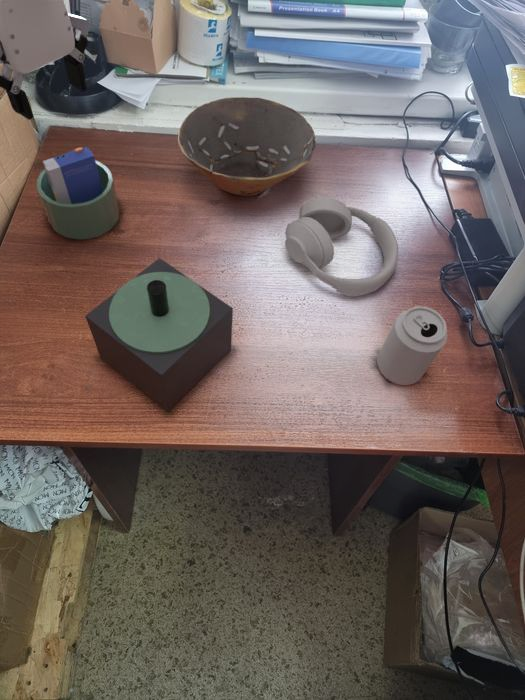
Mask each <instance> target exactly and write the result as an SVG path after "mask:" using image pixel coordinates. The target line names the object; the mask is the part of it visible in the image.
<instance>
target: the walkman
mask: <svg viewBox="0 0 525 700" xmlns="http://www.w3.org/2000/svg"><path fill="white" fill-rule="evenodd" d="M95 158H96V157H95V155H94V154H93V152H92V151H91V150H90V149H89V147H87V146H85V147H82V146H81V147H77V148H75V149H74V150H72V151H69V152H66V153H62V154H60V155H57V156H54V157H51V158H48V159H46V160H42V163H43V166H44V169H46V170H45V173H46V176H47V178H48V181H49V184H50V185H51V187H52V190H53V193H54V196H55V199H56V202H59V203H64V204H78V203H85V202H87V201H90V200H93V199H95V198H96V197H98V196H99V195H101V194H102V193H103V192H102V188H101V183H100V179H99V175H98V171H97V167H96V162H95V161H96V159H95Z"/></svg>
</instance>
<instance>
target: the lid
mask: <svg viewBox="0 0 525 700" xmlns="http://www.w3.org/2000/svg"><path fill="white" fill-rule="evenodd" d="M185 276H186V275H185ZM185 276H182V275H179V274H175V273H170V272H154V273H148V274H144V275H141V276H138V277H136V278H134V277H133V278H134V279H133V278H132V280H131V279H130V280H129V281H127V282H126V283H124V284H123V285H122V286H121V287H120V288H118V289H117V290H118V291H117V290H116V291H117V293H116V294H115V296H114V297H113V299H112V301H111V304H110V308H109V320H110V324H111V327H112V329H113V331H114V333H115V335H116V336H117V337H118V338H119V339H120V340H121V341H122V342H123V343H124V344H126V345H127V346H129V347H131V348H133V349H135V350H138V351H141V352H145V353H153V354H162V353H169V352H174V351H177V350H180V349H182V348H184V347H186V346H188V345H190V344H191V343H193V342H194V341H195V340H196V339H198V338H199V336H200V335H201V334H202V333H203V331H204V330H205V328H206V326H207V324H208V321H209V317H210V305H209V301H208V298H207V296H206V294H205V292H204V291H203V290H202V288H201V287H202V286H201V285H200V286H201V287H200V286H199V284H198V283H197V282H195V281H194V280H193V279H191V278H190V277H188V276H187V277H188V278H187V277H185ZM189 278H190V279H189ZM196 283H197V284H196Z"/></svg>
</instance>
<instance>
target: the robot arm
mask: <svg viewBox="0 0 525 700" xmlns="http://www.w3.org/2000/svg"><path fill="white" fill-rule="evenodd" d="M73 28H75V30H74V29H73ZM89 29H90V21H89V20H88V19H86V18H84V17H82V16H79V15H76V14H72V13H69V10H68V7H67V5H66V2H65V0H0V64H2V66H1V70H0V88H2V89H4V90H5V92H6V94H7V97H8V100H9V103H10V106H11V108H12V110H13V111H14V112H15V113H16V114H18V115H21V116H22V117H23V118H25V119H27V120H28V121H29V120H32V119H34V115H33V111H32V108H31V105H30V102H29V100H28V96H27V93H26V92H25V90H23V89H21V88H22V84H23V81H24V77H25V75H27V74H29V73H32V72H34V71H36V70H39V69H40V68H43V67H45V66H47V65H49V64H52V63H54V62H56V61H58V60H61V59H62V58H63V64H64V67H65V71H66V75H67V79H68V83H69V85H71V86H72V87H74V88H76V89H77V90H79V91H80V92H86V91H87V90H88V87H87V83H86V76H85V75H86V74H85V71H84V66H83V62H84V61H85V52H86V48H87V46H88V43H89V40H88V37H89ZM74 31H75V33H74Z"/></svg>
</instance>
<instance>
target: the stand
mask: <svg viewBox="0 0 525 700" xmlns="http://www.w3.org/2000/svg"><path fill="white" fill-rule="evenodd" d="M154 272H170V273H175V274H179V275H182V276H185V277H187V278H189V279H191V278H190V277H188V276H187V275H185V274H183V272H181V271H180V270H178V269H177V268H175V267H174V266H173V265H171V264H170V263H168V262H166V261H165V260H164V259H162V258H161V257H158V258H157V259H155V260H154V261H153V262H152V263H151V264H149V265H148V266H146V267H145V268H144V269H143V270H142V271H140V272H139V273H137V275H135V276H134V277H132V279H134V278H136V277H138V276H141V275H144V274H148V273H154ZM132 279H130V280H132ZM195 283H196V284H198V283H197V282H195ZM198 285H199V284H198ZM199 286H200V287H201V288H202V290H203V291H204V292H205V294H206V296H207V298H208V301H209V305H210V317H209V321H208V324H207V326H206V328H205V330H204V331H203V333H202V334H201V335H200V336H199V338H198V339H196V340H195V341H194V342H193V343H191V344H190V345H188V346H186V347H184V348H182V349H180V350H177V351H174V352H169V353H162V354H153V353H145V352H141V351H138V350H135V349H133V348H131V347H129V346H127V345H126V344H124V343H123V342H122V341H121V340H120V339H119V338H118V337H117V336H116V335H115V333H114V331H113V329H112V327H111V324H110V320H109V308H110V304H111V301H112V299H113V297H114V296H115V294H116V293H117V291H118V290H119V289H117V290H116V291H114V292H113V293H112V294H111V295H110V296H108V297H107V298H106V299H104V301H102V302H101V303H100V304H98V305H97V306H96V307H94V308H92V310H90V311H89V312H88V313H87V314H85V316H84V317H85V319H86V322H87V325H88V328H89V330H90V334H91V336H92V338H93V341H94V344H95V346H96V347H95V348H96V349H97V352H98V355H99V357H100V358H99V359H101V360H102V361H103V362H105V364H107V365H108V366H109V367H111V368H112V369H113V370H114V371H116V373H118V374H119V375H121V376H122V377H123V378H124V379H126V381H128V382H129V383H130V384H132V385H133V386H134V387H135V388H136V389H138V390H139V391H141V393H143V394H144V395H145V396H147V397H148V398H149V399H150V400H152V401H153V402H154V403H155V404H157V405H158V406H159V407H161V408H162V409H163V410H164V411H166V412H167V413H170V412H171V411H172V410H173V409H174V408H175V407H176V406H177V405H178V404H179V403H180V402H181V401H182V400H183V399H184V398H185V397H186V396H187V395H188V394H189V393H190V392H191V391H192V390H194V388H195V387H196V386H198V384H199V383H200V382H201V381H202V380H204V378H205V377H206V376H207V375H208V374H209V373H210V372H211V371H212V370H213V369H214V368H215V367H216V366H217V365H218V364H220V362H221V361H222V360H223V359H224V358H225V357H226V356H228V354H229V353H230V352H231V351H232V336H233V335H232V333H233V318H234V317H233V316H234V315H233V314H234V313H233V312H234V308H233V307H232V306H230V305H229V304H227V303H226V302H225V301H223V300H222V299H220V298H218V297H217V296H216V295H214V294H213V293H211V292H210V291H208V290H207V289H205V288H204V287H203V286H201V285H199Z"/></svg>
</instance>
